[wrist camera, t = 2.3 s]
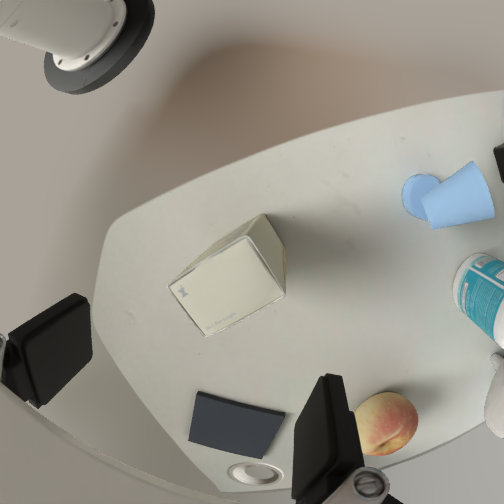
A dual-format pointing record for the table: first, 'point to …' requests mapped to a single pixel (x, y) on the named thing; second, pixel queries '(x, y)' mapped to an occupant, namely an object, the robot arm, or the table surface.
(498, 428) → the table lamp
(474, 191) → the spotlight
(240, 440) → the mat
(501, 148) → the multiport hub
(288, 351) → the table surface
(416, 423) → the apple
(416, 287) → the table surface
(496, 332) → the pill bottle
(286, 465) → the table surface
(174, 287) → the cosmetic box
